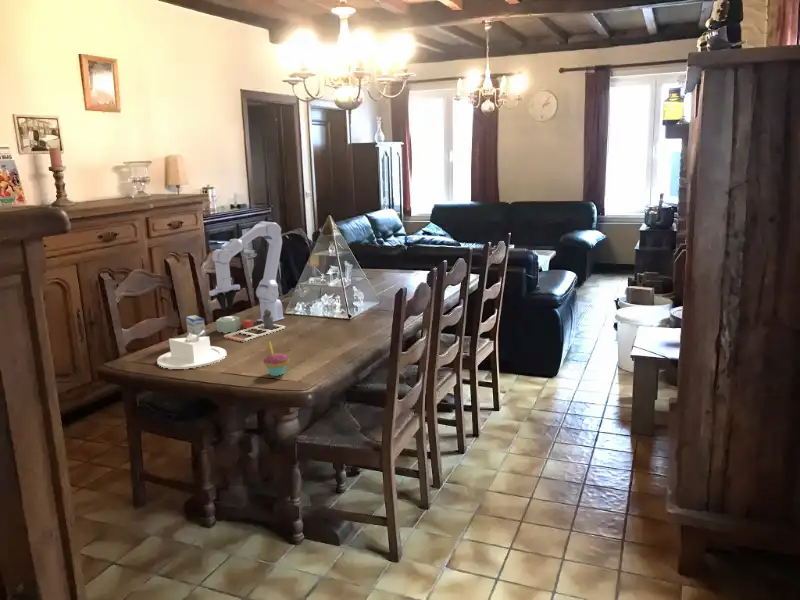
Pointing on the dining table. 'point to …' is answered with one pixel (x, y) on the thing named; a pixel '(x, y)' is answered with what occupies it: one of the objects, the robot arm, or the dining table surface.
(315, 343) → the dining table surface
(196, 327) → the medicine box
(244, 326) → the red die
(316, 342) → the dining table surface
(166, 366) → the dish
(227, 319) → the dome
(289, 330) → the dining table surface
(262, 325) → the game track
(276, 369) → the cupcake
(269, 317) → the pawn
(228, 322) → the dome base
